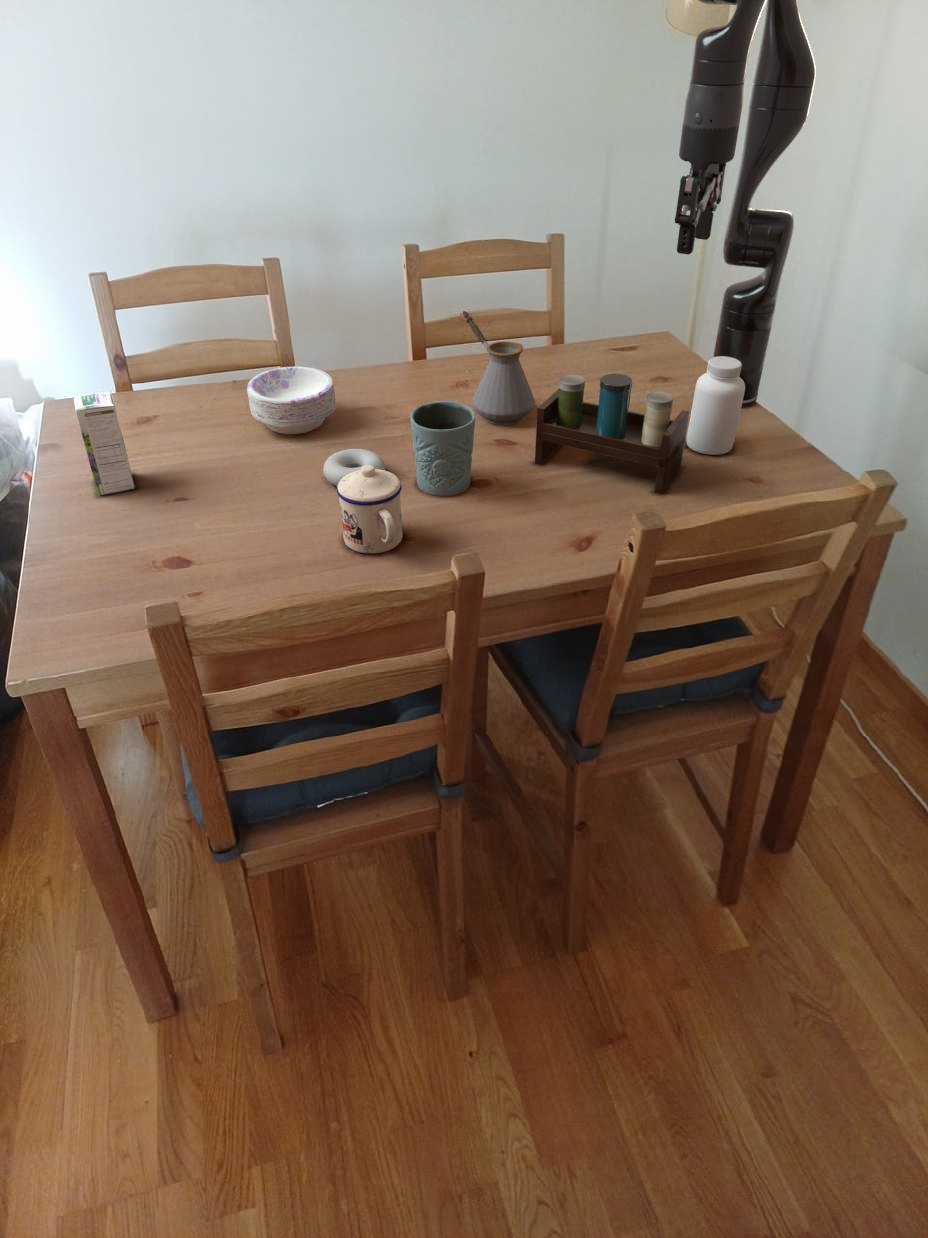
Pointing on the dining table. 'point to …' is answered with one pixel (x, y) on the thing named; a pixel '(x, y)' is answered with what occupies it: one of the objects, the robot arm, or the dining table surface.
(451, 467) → the teal embossed cup
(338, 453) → the donut
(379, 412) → the dining table surface
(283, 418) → the paper bowls
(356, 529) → the teacup with lid
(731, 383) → the pill bottle
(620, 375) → the spice jar
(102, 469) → the syrup box
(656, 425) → the spice rack
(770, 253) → the robot arm
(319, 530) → the dining table surface
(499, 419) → the coffee pot
